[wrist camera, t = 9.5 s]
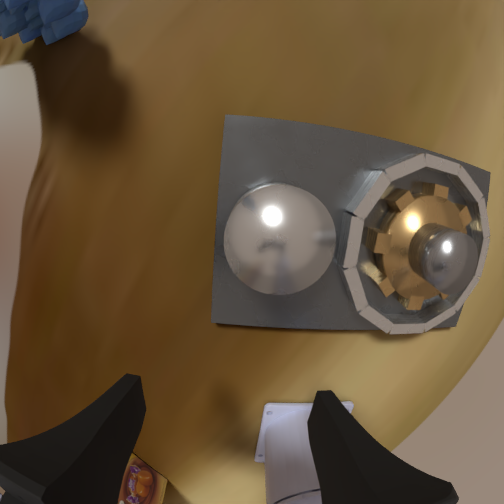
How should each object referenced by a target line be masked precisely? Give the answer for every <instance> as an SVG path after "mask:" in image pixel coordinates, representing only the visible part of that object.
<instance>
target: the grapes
mask: <svg viewBox="0 0 504 504" xmlns="http://www.w3.org/2000/svg"><path fill="white" fill-rule="evenodd" d="M87 19H88V9H87V6H86V4H85V2H84V1H83V0H0V36H2V37H3V39H5V38H7V37H10V36H12V35H14V34H16V33H19V36H20V39H21V41H22V43H23V44H24V43H26V42H29V41H31V40H33V39H35V38H37V37H39V36H41V35H42V37H43V40H44V42H45V43H46V45H48V44H51V43H54V42H56V41H58V40H60V39H62V38H64V37H66V36H67V35H70V34H72V33H74V32H76V31H79V30H80V29H81V28H82V27H83V26H84V25H85V24H86V21H87Z"/></svg>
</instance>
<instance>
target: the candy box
mask: <svg viewBox="0 0 504 504" xmlns="http://www.w3.org/2000/svg"><path fill="white" fill-rule="evenodd" d="M167 481H168V480H167V479H166V478H164V477H163V476H162V475H160V474H159V473H158V472H156V471H155V470H153V469H152V468H151V467H149V466H148V465H147V464H146V463H144V462H143V461H142V460H140V459H139V458H138V457H137V456H135V455H134V454H133V453H132V454H131V456H130V459H129V462H128V464H127V467H126V470H125V473H124V476H123V480H122V485H121V489H120V494H119V499H118V504H162V503H163V499H164V494H165V489H166V485H167Z"/></svg>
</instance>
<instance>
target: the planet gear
mask: <svg viewBox="0 0 504 504" xmlns="http://www.w3.org/2000/svg"><path fill="white" fill-rule="evenodd" d="M448 190H449V188H448V187H445V186H441V185H438V184H434V183H427V182H423V186H422V193H416V194H411V193H410V191H409V190H405V189H399V188H397V189H396V190H395V191H394V192H393V193H391V194H390V195H389V196H388V197H386V198H385V200H386V202H387V204H388V206H389V207H390V210H389V211H388V212H387V214H386V215H385V217H384V218H383V220H382V222H381V224H380V227H379V229H375V228H369V227H368V232H367V238H366V243H365V246H366V247H367V248H368V249H370V250H371V251H373V252H374V253H375V258H376V263H377V267H378V269H377V270H376V271H375V272H374V273H372V274H371V275H370V277H371V279H372V281H373V282H374V284H375V285H376V287H377V289H378V290H379V291H380V292H381V293H382V294H383V295H384V296H385V297H388V296H389V295H390V294H391V293H393V292H394V291H396V292H397V293H399V297H398V301H399V302H400V303H401V304H402V305H403V306H404V307H405V308H406V309H407V310H420V309H421V306H422V303H423V300H426V299H430V298H432V297H434V296H436V295H438V296H439V297H440V298H441V299H443V300H444V299H445V298H446V297H447V296H449V295H452V294H456V293H458V292H460V291H461V290H463V289H464V288H465V287H466V286H467V285H468V283H469V282H470V281H471V279H472V277H473V275H474V273H475V270H476V267H477V262H478V251H477V246H476V244H475V242H474V240H473V239H472V238H471V237H470V236H469V235H467V230H466V226H467V225H468V224H469V223H470V222H471V221H472V218H471V216H470V213H469V211H468V208H467V206H466V205H462V204H458V203H452V202H451V201H449V200H447V197H448Z"/></svg>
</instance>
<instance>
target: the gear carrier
mask: <svg viewBox="0 0 504 504" xmlns="http://www.w3.org/2000/svg"><path fill="white" fill-rule="evenodd" d="M423 182H427V183H434V184H438V185H441V186H445V187H448V188H449V190H448V197H447V200H449V201H451V202H452V203H458V204H462V205H466V206H467V208H468V211H469V213H470V216H471V218H472V221H471V222H470V223H469V224H468V225H467V226H466V230H467V235H469V236H470V237H471V238H472V239H473V240H474V242H475V244H476V246H477V251H478V262H477V267H476V270H475V273H474V275H473V277H472V279H471V281H470V282H469V283H468V285H467V286H466V287H465V288H464V289H463V290H461V291H460V292H458V293H456V294H452V295H449V296H447V297H446V298H445V299H444V300H443V299H441V298H440V297H439V296H438V295H436V296H434V297H432V298H430V299H426V300H423V303H422V306H421V309H420V310H407V309H406V308H405V307H404V306H403V305H402V304H401V303H400V302H399V301H398V297H399V293H397V292H396V291H394V292H393V293H391V294H390V295H389V296H388V297H385V296H384V295H383V294H382V293H381V292H380V291H379V290H378V289H377V287H376V285H375V284H374V282H373V281H372V279H371V277H370V275H371V274H372V273H374V272H375V271H376V270H377V269H378V267H377V263H376V258H375V253H374V252H373V251H371V250H370V249H368V248H367V247H366V246H365V243H366V238H367V232H368V227H369V228H375V229H379V227H380V224H381V222H382V220H383V218H384V217H385V215H386V214H387V212H388V211H389V210H390V207H389V206H388V204H387V202H386V200H385V198H386V197H388V196H389V195H390V194H391V193H393V192H394V191H395V190H396V189H397V188H399V189H405V190H409V191H410V193H411V194H416V193H422V186H423ZM489 183H490V172H488V171H485V170H483V169H480V168H478V167H475V166H473V165H470V164H467V163H465V162H462V161H459V160H456V159H453V158H450V157H447V156H444V155H441V154H438V153H435V152H432V151H429V150H426V149H422V148H419V147H415V146H412V145H408V144H405V143H401V142H397V141H393V140H389V139H385V138H381V137H377V136H373V135H368V134H364V133H359V132H355V131H350V130H345V129H339V128H334V127H328V126H322V125H316V124H310V123H303V122H296V121H289V120H281V119H272V118H262V117H251V116H238V115H225V123H224V133H223V144H222V155H221V166H220V178H219V191H218V204H217V219H216V234H215V251H214V269H213V290H212V315H211V322H212V323H222V324H234V325H247V326H261V327H277V328H298V329H329V330H383V331H384V332H386V333H389V334H411V333H423V331H424V332H426V331H428V330H430V329H431V328H442V327H456V324H457V321H458V319H459V316H460V313H461V310H462V307H463V304H464V302H465V301H466V299H467V298H468V296H469V295H470V293H471V292H472V290H473V289H474V288H475V286H476V285H477V283H478V281H479V278H478V277H481V274H482V271H483V267H484V263H485V259H486V255H487V251H488V246H489V241H490V239H489V238H488V237H490V230H489V223H488V216H487V210H486V207H487V200H488V192H489Z"/></svg>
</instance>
